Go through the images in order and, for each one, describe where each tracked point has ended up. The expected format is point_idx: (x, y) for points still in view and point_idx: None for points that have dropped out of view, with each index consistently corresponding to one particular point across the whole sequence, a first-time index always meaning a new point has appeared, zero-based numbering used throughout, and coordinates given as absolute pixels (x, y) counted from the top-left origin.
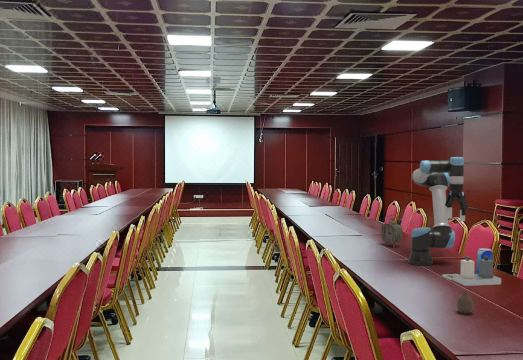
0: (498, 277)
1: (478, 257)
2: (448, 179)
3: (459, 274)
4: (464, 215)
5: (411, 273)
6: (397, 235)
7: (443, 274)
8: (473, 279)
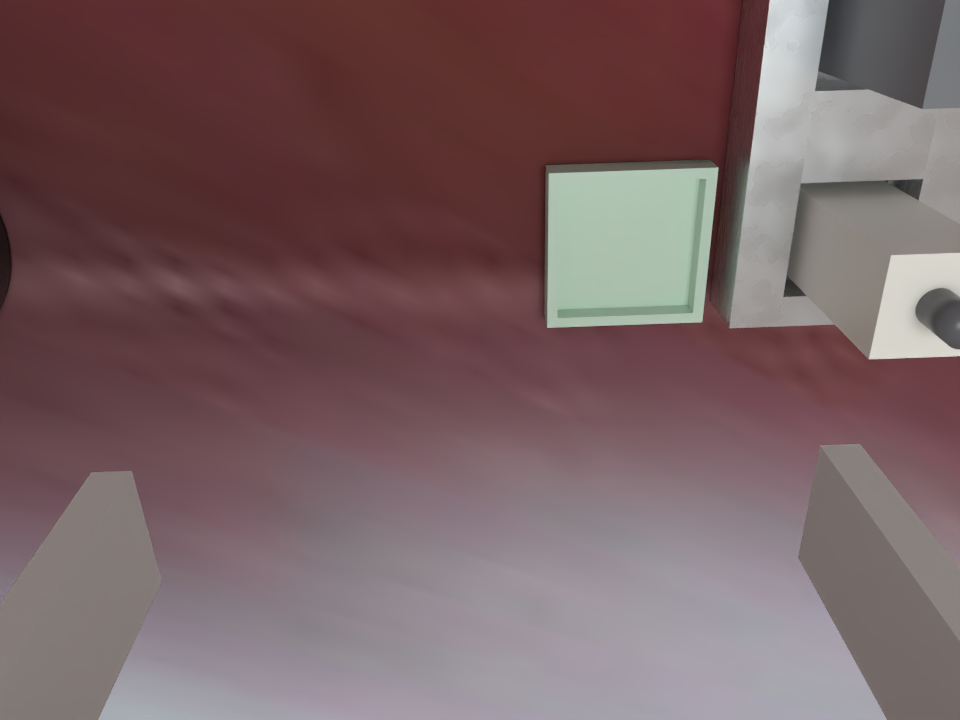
0: None
1: None
2: None
3: (738, 262)
4: (945, 580)
5: (356, 489)
6: None
7: (548, 315)
8: None
